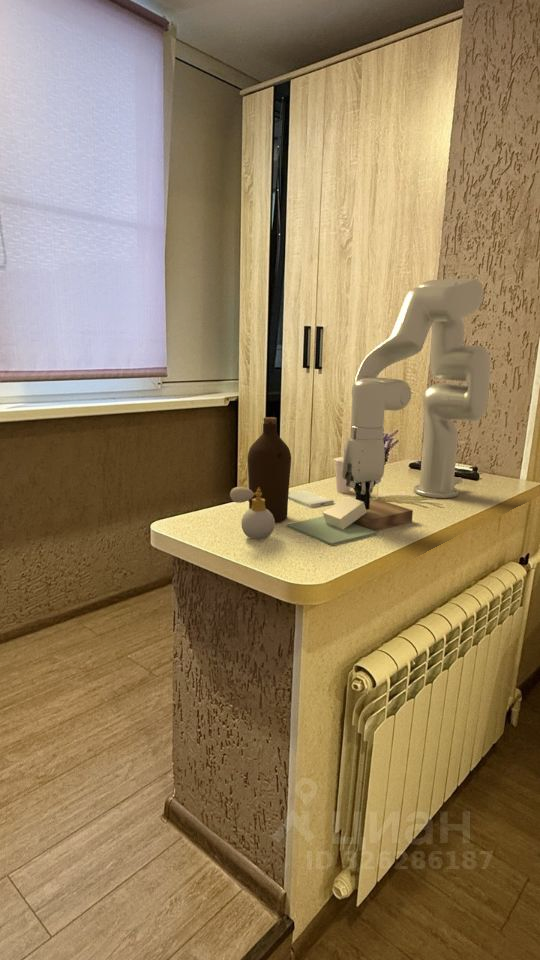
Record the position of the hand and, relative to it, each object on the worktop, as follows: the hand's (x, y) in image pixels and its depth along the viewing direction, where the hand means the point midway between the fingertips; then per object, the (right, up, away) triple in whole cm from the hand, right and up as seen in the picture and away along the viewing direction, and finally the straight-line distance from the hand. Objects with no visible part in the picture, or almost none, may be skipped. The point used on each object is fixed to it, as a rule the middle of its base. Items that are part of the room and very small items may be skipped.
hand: (362, 508), depth 145 cm
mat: (-8, -5, -5) cm, 11 cm away
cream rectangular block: (-4, -2, -2) cm, 5 cm away
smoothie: (-1, +3, +31) cm, 31 cm away
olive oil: (-23, -3, +4) cm, 23 cm away
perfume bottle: (-26, -6, -12) cm, 29 cm away
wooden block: (+4, -3, +4) cm, 6 cm away
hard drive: (-12, +1, +21) cm, 24 cm away
